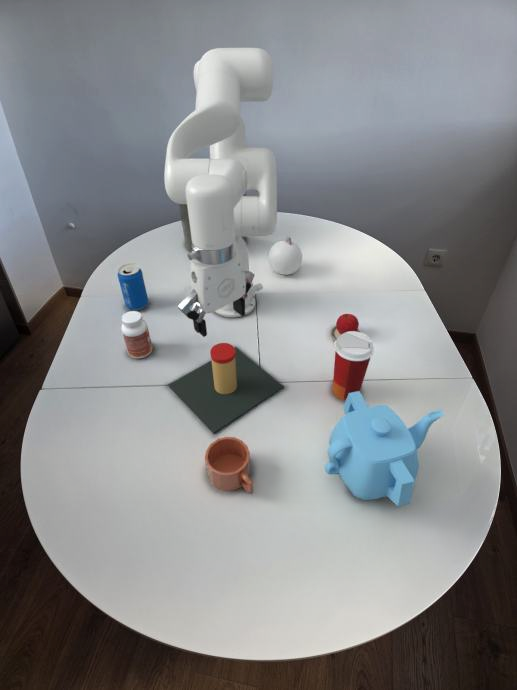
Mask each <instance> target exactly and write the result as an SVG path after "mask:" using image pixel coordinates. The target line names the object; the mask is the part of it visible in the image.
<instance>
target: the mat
mask: <svg viewBox="0 0 517 690" xmlns="http://www.w3.org/2000/svg"><path fill="white" fill-rule="evenodd" d="M233 347H234V348H235V353H236V356H235V361H236V378H237V388H236V390H235V391H234V392H232V393H230V394H220V393H218V392H217V391H216V390H215V387H214V378H213V369H212V360H210V361H207V362H206V363H204V364H203V365H201V366H199V367H197V368H195V369H194V370H191V371H190V372H188V373H186V374H185V375H183V376H181V377H179V378H178V379H175V380H174V381H172V382H170V383H168V385H167V386H168V387H169V388H170V389H171V390H172V391H173V393H174V394H175V395H176V396H177V397H178V398H179V399H180V400H181V402H183V403H184V404H185V405H186V406H187V408H189V410H190V411H191V412H192V413H193V414H194V415H195V416H196V417H197V418H198V419H199V420H200V421H201V422H202V423H203V424H204V425H205V426H206V427H207V429H208V430H209V431H210V432H211V433H212V434H213V435H214V434H216V433H218V432H219V431H221V430H222V429H224V428H225V427H227V426H228V425H230V424H231V423H233V422H235V421H236V420H237V419H239V418H241V417H243V416H244V415H245V414H246V413H248V412H250V411H252V409H254V408H255V407H257V406H258V405H261V403H263V402H264V401H266V400H267V399H269V398H271V397H272V396H274V395H275V394H277V393H278V392H280V391H281V390H283V389H284V388H285V386H284V385H283V384H282V383H280V382H279V381H278V380H277V379H275V378H274V377H273V376H272V375H270V373H268V372H267V371H266V370H265V369H264V368H263V367H261V366H260V365H258V364H257V362H255V361H254V360H252V359H251V358H250V357H249V356H247V355H246V354H245V353H244V352H243V351H241V349H239V348H238V347H236V346H233Z"/></svg>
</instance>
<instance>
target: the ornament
mask: <svg viewBox="0 0 517 690" xmlns="http://www.w3.org/2000/svg"><path fill="white" fill-rule="evenodd" d="M267 258H268V259H267V260H268V264H269V266H270V268H271V269H272V270H273V271H274V272H275V273H276V274H278V275H282V276H289V275H291V274H294V273H295V272H297V270H299V268H300V267H301V265H302V261H303V252H302V249H301V248H300V246H299V245H298V244H297V243H296V242H294V241H292V238H291V236H286V238H285V240H284V239H283V240H279V241H277V242H276V243H274V244H273V245H272V246H271V248H270V250H269V252H268V257H267Z"/></svg>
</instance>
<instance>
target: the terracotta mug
mask: <svg viewBox="0 0 517 690" xmlns="http://www.w3.org/2000/svg"><path fill="white" fill-rule="evenodd" d="M204 462H205V468H206V473H207V478H208V481H209V483H210V484H211V485H212V486H213V487H215V488H216V489H218V490H221V491H225V492H229V491H230V492H231V491H236V490H237V489H239V488H241V487H242V488H243V489H244V490H245V492H246V493H247V494H248V495H253V493H254V481H253V480H252V479H251V478H250V474H251V453H250V450H249V448H248V445H247V444H246V443H245V442H244V441H243V440H242V439H239V438H237V437H235V436H224V437H219V438H217V439H216V440H214V441H213V442H211V443H210V444H209V445H208V447H207V448H206V450H205V455H204Z"/></svg>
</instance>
